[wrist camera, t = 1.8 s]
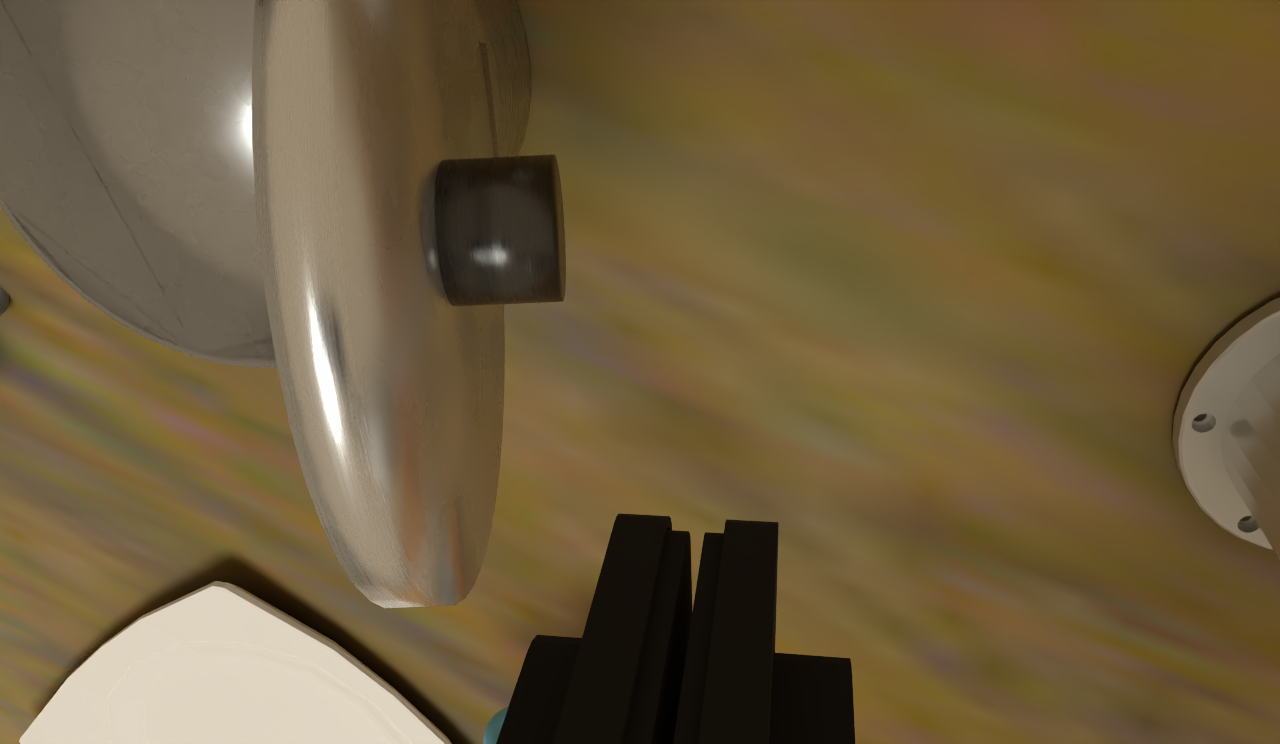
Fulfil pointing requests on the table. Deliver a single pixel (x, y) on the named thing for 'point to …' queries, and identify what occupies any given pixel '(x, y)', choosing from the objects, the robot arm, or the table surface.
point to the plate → (226, 683)
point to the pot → (165, 157)
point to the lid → (394, 276)
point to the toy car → (3, 301)
